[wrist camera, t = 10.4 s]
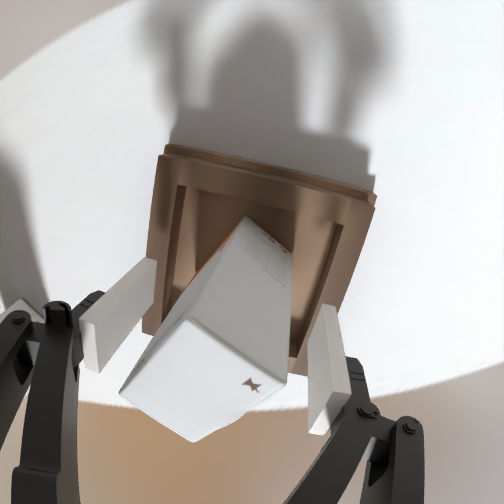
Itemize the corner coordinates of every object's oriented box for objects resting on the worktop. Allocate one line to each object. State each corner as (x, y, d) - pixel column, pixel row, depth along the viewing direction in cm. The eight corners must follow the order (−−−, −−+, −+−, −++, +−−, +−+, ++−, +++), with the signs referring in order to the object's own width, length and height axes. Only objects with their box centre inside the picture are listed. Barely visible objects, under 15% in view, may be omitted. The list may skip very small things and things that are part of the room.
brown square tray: (150, 315, 25) (135, 335, 23) (170, 144, 20) (152, 146, 17) (313, 358, 25) (314, 382, 22) (373, 193, 20) (385, 202, 17)
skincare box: (244, 212, 20) (187, 311, 9) (294, 254, 21) (293, 386, 10) (191, 275, 22) (113, 395, 11) (237, 311, 23) (195, 447, 12)
